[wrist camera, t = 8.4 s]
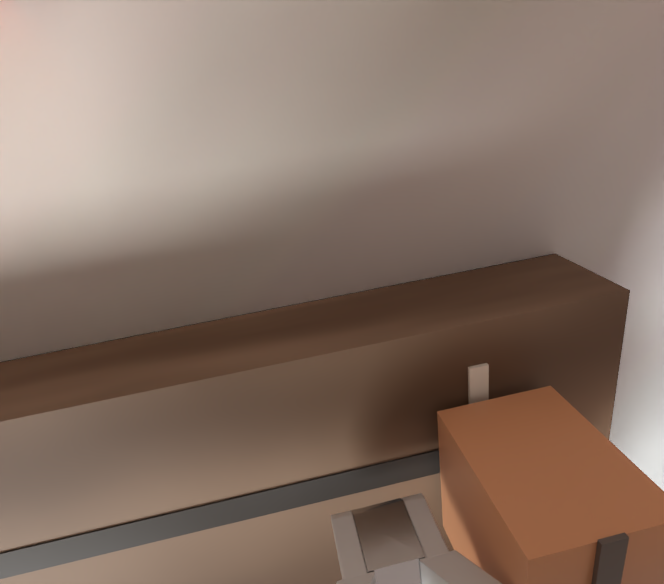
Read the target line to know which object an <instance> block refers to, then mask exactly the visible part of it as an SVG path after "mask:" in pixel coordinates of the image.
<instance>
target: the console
mask: <svg viewBox="0 0 664 584" xmlns="http://www.w3.org/2000/svg"><path fill="white" fill-rule="evenodd" d="M629 293H630V290H628V289H626V288H624V287H622V286H620V285H617V284H615V283H613V282H611V281H609V280H607V279H605V278H603V277H601V276H599V275H597V274H595V273H593V272H591V271H589V270H587V269H585V268H583V267H581V266H579V265H577V264H575V263H573V262H571V261H569V260H567V259H565V258H563V257H561V256H559V255H557V254H552V255H547V256H542V257H536V258H531V259H526V260H521V261H516V262H511V263H506V264H501V265H496V266H490V267H485V268H480V269H475V270H470V271H465V272H460V273H455V274H450V275H444V276H439V277H434V278H429V279H424V280H419V281H414V282H409V283H404V284H398V285H393V286H388V287H383V288H378V289H373V290H368V291H363V292H358V293H352V294H347V295H342V296H337V297H332V298H327V299H322V300H317V301H312V302H306V303H301V304H296V305H291V306H286V307H281V308H276V309H271V310H266V311H260V312H255V313H250V314H245V315H240V316H235V317H230V318H225V319H220V320H214V321H209V322H204V323H199V324H194V325H189V326H184V327H179V328H174V329H168V330H163V331H158V332H153V333H148V334H143V335H138V336H133V337H128V338H122V339H117V340H112V341H107V342H102V343H97V344H92V345H87V346H82V347H76V348H71V349H66V350H61V351H56V352H51V353H46V354H41V355H36V356H30V357H25V358H20V359H15V360H10V361H5V362H0V584H336V583H337V581H339V580H342V575H341V570H340V565H339V559H338V554H337V549H336V543H335V538H334V533H333V528H332V522H331V515H333V514H337V513H342V512H346V511H350V510H354V509H359V508H363V507H367V506H371V505H375V504H379V503H382V502H386V501H390V500H394V499H398V498H403V497H407V496H411V495H415V494H419V493H421V494H422V495H423V496H424V497H425V499H426V502H427V504H428V506H429V508H430V510H431V512H432V515H433V517H434V519H435V521H436V523H437V526H438V528H439V530H440V532H441V534H442V536H443V539H444V541H445V543H446V545H447V547H448V550H449V551H453V550H454V549H453V547H452V544H451V542H450V540H449V538H448V536H447V534H446V531H445V529H444V527H443V518H442V498H441V479H440V460H439V440H438V421H437V411H441V410H445V409H450V408H454V407H459V406H463V405H467V404H472V403H476V402H481V401H485V400H489V399H494V398H498V397H503V396H507V395H511V394H516V393H520V392H525V391H529V390H533V389H538V388H542V387H547V386H552V387H553V388H554V389H555V390H556V391H557V392H558V393H559V394H560V395H561V396H562V397H563V398H564V399H565V400H567V401H568V402H569V403H570V404H571V405H572V406H573V407H574V408H575V409H576V410H577V411H578V412H579V413H580V414H581V415H583V416H584V417H585V418H586V419H587V420H588V421H589V422H590V423H591V424H592V425H593V426H594V427H595V428H596V429H597V430H599V431H600V432H601V433H602V434H603V435H604V436H605V437H606V438H607V439H608V440H609V435H610V428H611V421H612V414H613V407H614V400H615V393H616V385H617V378H618V371H619V364H620V357H621V350H622V343H623V336H624V329H625V322H626V314H627V307H628V300H629Z"/></svg>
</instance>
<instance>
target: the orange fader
mask: <svg viewBox="0 0 664 584" xmlns="http://www.w3.org/2000/svg"><path fill="white" fill-rule="evenodd" d="M437 421H438V440H439V460H440V479H441V498H442V518H443V527H444V529H445V531H446V534H447V536H448V538H449V540H450V542H451V544H452V547H453V549H454V550H456V551H457V552H459V553H460V554H462V555H463V556H464V557H466V558H467V559H469V560H470V561H471V562H473V563H474V564H476V565H477V566H478V567H480V568H481V569H482V570H484V571H485V572H487V573H488V574H489V575H491V576H492V577H494V578H495V579H496V580H498V581H499V582H501V583H502V584H664V491H663V490H661V489H660V488H659V487H658V486H657V485H656V484H655V483H654V482H653V481H652V480H651V479H650V478H649V477H648V476H647V475H645V474H644V473H643V472H642V471H641V470H640V469H639V468H638V467H637V466H636V465H635V464H634V463H633V462H632V461H631V460H629V459H628V458H627V457H626V456H625V455H624V454H623V453H622V452H621V451H620V450H619V449H618V448H617V447H616V446H615V445H613V444H612V443H611V442H610V441H609V440H608V439H607V438H606V437H605V436H604V435H603V434H602V433H601V432H600V431H599V430H597V429H596V428H595V427H594V426H593V425H592V424H591V423H590V422H589V421H588V420H587V419H586V418H585V417H584V416H583V415H581V414H580V413H579V412H578V411H577V410H576V409H575V408H574V407H573V406H572V405H571V404H570V403H569V402H568V401H567V400H565V399H564V398H563V397H562V396H561V395H560V394H559V393H558V392H557V391H556V390H555V389H554V388H553V387H552V386H547V387H542V388H538V389H533V390H529V391H525V392H520V393H516V394H511V395H507V396H503V397H498V398H494V399H489V400H485V401H481V402H476V403H472V404H467V405H463V406H459V407H454V408H450V409H445V410H441V411H437Z"/></svg>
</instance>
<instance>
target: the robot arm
mask: <svg viewBox="0 0 664 584" xmlns="http://www.w3.org/2000/svg"><path fill="white" fill-rule="evenodd" d="M331 522H332V528H333V533H334V538H335V543H336V549H337V554H338V559H339V565H340V570H341V575H342V580H339V581H337V583H336V584H502V583H501V582H499V581H498V580H496V579H495V578H494V577H492V576H491V575H489V574H488V573H487V572H485V571H484V570H482V569H481V568H480V567H478V566H477V565H476V564H474V563H473V562H471V561H470V560H469V559H467V558H466V557H464V556H463V555H462V554H460V553H459V552H457V551H456V550H453V551H449V550H448V547H447V545H446V543H445V541H444V539H443V536H442V534H441V532H440V530H439V528H438V526H437V523H436V521H435V519H434V517H433V515H432V512H431V510H430V508H429V506H428V504H427V502H426V499H425V497H424V496H423V495H422V494H421V493H419V494H415V495H411V496H407V497H403V498H398V499H394V500H390V501H386V502H382V503H379V504H375V505H371V506H367V507H363V508H359V509H354V510H350V511H346V512H342V513H337V514H333V515H331Z"/></svg>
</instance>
